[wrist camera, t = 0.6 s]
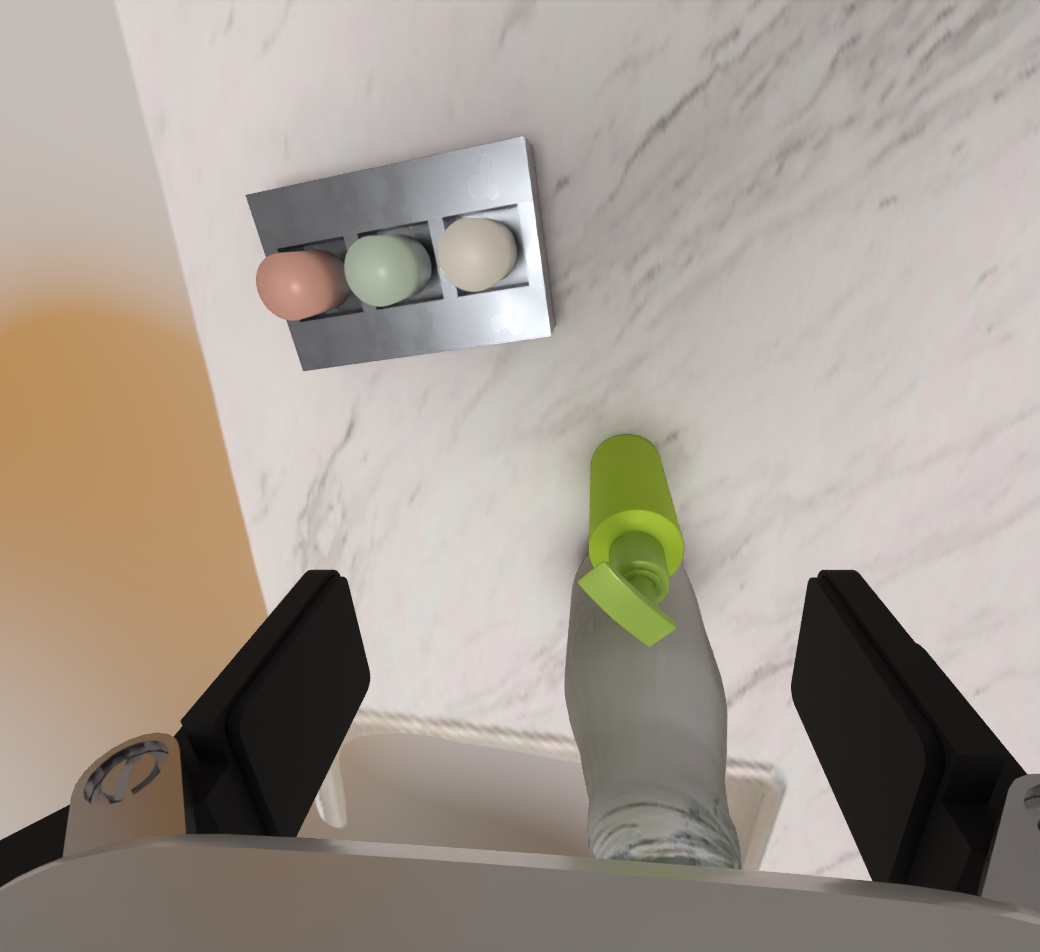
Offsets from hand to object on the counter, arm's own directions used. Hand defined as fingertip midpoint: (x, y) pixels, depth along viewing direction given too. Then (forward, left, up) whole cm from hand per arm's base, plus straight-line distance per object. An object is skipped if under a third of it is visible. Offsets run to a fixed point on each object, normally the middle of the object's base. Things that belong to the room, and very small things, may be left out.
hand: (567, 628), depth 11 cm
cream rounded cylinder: (-7, -6, -29) cm, 31 cm away
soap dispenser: (+11, +2, -34) cm, 35 cm away
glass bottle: (+21, +2, -34) cm, 40 cm away
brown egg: (-7, -18, -29) cm, 35 cm away
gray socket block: (-7, -12, -34) cm, 36 cm away
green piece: (-7, -12, -29) cm, 32 cm away
